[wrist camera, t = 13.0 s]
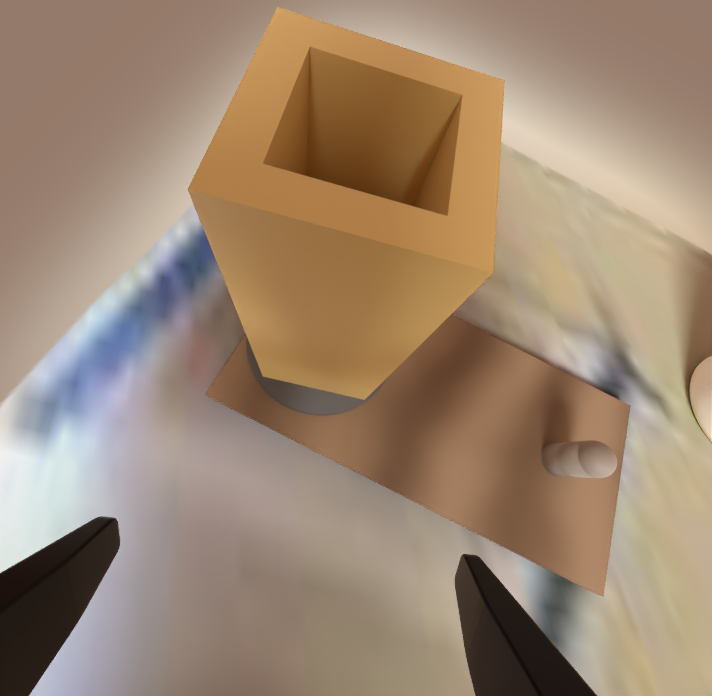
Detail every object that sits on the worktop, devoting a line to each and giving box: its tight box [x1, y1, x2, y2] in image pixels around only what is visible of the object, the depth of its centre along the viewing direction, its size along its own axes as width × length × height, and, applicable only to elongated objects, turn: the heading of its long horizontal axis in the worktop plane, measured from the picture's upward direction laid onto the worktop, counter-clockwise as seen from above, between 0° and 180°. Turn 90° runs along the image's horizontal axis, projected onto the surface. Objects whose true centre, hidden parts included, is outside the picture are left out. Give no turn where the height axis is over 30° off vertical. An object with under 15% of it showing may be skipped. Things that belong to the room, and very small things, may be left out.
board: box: [206, 315, 630, 596], centre depth 18 cm, size 23×11×4 cm, turn 65°
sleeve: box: [188, 7, 504, 400], centre depth 13 cm, size 6×6×13 cm
